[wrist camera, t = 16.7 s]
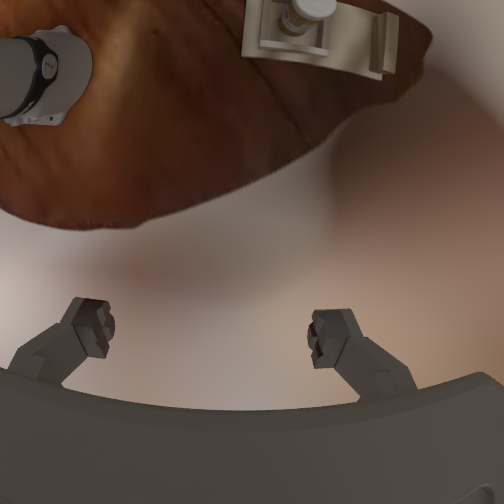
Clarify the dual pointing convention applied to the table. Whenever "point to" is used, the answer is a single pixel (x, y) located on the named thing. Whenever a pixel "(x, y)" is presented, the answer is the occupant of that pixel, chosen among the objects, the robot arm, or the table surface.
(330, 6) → the sprinkles bottle
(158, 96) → the table surface
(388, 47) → the caddy
